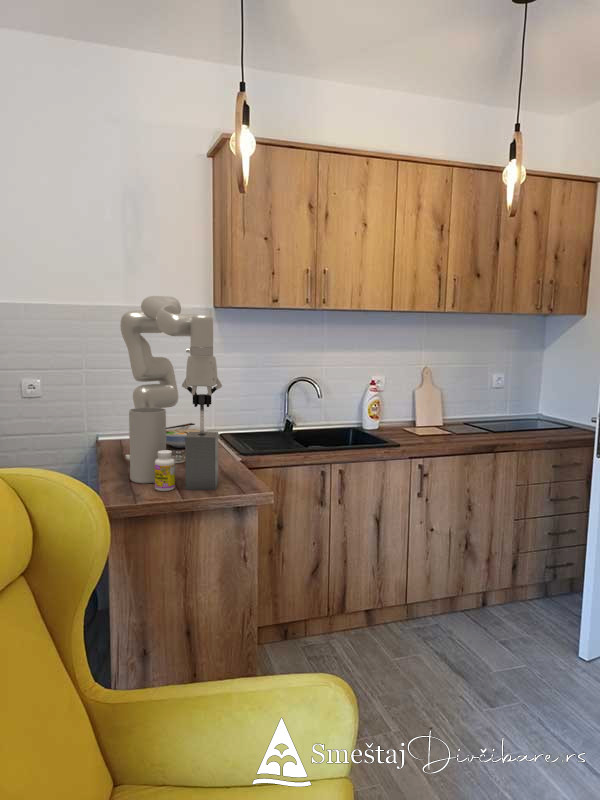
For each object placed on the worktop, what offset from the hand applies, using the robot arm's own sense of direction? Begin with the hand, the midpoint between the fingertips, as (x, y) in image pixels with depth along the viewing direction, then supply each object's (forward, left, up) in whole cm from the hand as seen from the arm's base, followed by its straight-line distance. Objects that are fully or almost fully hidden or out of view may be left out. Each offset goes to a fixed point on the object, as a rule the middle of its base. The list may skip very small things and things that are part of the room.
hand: (202, 405), depth 203 cm
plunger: (0, 0, -17) cm, 17 cm away
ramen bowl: (-17, +65, -28) cm, 73 cm away
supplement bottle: (-12, -4, -28) cm, 31 cm away
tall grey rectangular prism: (0, +1, -28) cm, 28 cm away
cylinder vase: (-20, +8, -28) cm, 35 cm away
